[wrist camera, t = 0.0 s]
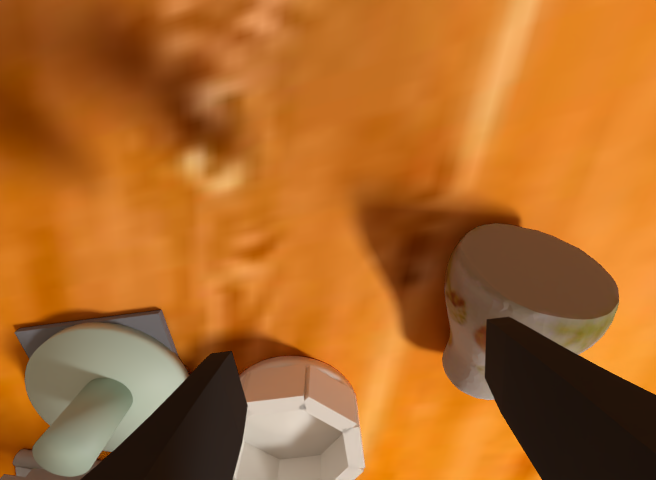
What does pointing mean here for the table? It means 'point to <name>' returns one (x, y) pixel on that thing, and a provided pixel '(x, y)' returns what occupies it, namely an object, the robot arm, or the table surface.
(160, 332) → the mat
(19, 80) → the table surface
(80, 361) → the lid
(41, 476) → the handheld gaming console
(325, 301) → the table surface
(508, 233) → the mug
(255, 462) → the bowl
